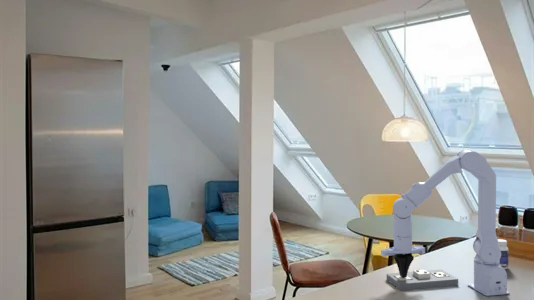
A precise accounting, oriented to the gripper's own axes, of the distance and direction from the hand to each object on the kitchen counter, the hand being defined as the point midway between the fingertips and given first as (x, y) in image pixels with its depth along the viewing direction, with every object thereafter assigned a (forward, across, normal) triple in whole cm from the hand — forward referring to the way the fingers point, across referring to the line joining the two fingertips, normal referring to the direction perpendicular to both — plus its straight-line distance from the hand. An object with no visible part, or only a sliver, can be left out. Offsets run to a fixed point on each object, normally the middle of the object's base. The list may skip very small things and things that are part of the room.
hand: (403, 276), depth 146 cm
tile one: (+2, 0, 0) cm, 2 cm away
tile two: (+1, -7, 0) cm, 7 cm away
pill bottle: (+3, -41, -8) cm, 42 cm away
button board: (+2, -6, 0) cm, 7 cm away
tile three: (+2, -13, 0) cm, 13 cm away
